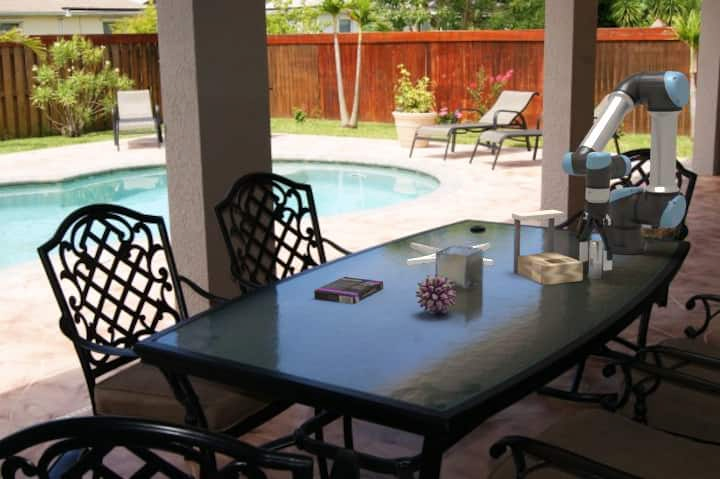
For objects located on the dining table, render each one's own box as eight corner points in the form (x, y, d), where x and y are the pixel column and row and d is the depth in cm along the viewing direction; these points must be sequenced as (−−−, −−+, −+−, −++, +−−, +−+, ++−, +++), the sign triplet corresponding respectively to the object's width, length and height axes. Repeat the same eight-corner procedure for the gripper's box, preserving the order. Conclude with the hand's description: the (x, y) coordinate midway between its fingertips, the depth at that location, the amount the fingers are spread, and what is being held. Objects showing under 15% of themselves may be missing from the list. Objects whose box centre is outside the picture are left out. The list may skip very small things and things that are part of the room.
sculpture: (406, 259, 323) (410, 242, 353) (406, 267, 324) (410, 248, 353) (493, 260, 320) (490, 242, 350) (493, 267, 321) (490, 249, 350)
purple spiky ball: (429, 322, 256) (429, 280, 254) (407, 312, 267) (407, 271, 264) (464, 316, 261) (464, 275, 259) (441, 306, 272) (441, 266, 270)
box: (353, 307, 276) (384, 290, 293) (353, 295, 275) (384, 279, 292) (313, 301, 283) (345, 285, 299) (313, 290, 282) (345, 274, 299)
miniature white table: (552, 267, 317) (554, 209, 313) (563, 271, 311) (564, 212, 307) (511, 272, 311) (511, 213, 307) (520, 276, 306) (521, 216, 301)
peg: (596, 275, 305) (597, 239, 302) (603, 278, 301) (604, 241, 299) (586, 276, 304) (587, 240, 301) (593, 279, 300) (594, 242, 297)
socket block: (554, 269, 314) (554, 251, 313) (582, 280, 299) (583, 262, 297) (517, 273, 310) (517, 255, 308) (544, 284, 294) (544, 266, 293)
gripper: (565, 196, 308) (564, 258, 312) (610, 207, 285) (608, 274, 289) (585, 194, 310) (583, 256, 314) (631, 205, 287) (628, 272, 291)
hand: (595, 265), depth 302 cm, fingers open, 13 cm apart
